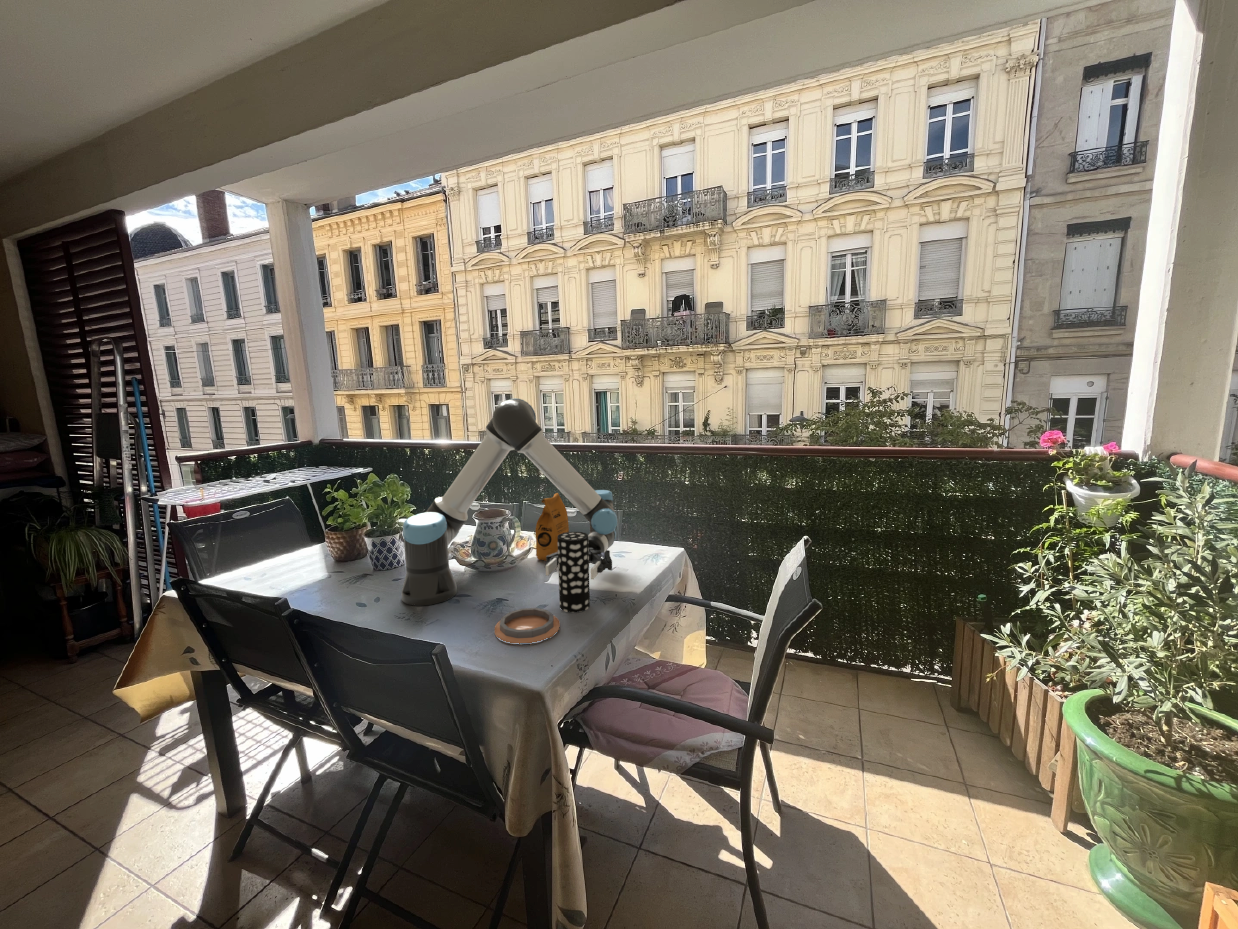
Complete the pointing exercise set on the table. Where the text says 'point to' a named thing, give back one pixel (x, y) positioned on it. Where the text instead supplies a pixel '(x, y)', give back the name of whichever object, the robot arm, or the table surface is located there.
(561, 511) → the coffee package
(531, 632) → the collar plate
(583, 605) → the white-spotted black cylinder
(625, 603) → the table surface
